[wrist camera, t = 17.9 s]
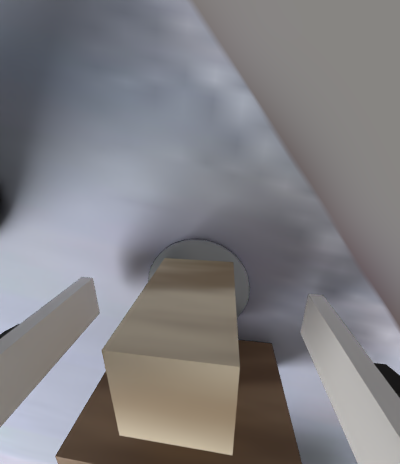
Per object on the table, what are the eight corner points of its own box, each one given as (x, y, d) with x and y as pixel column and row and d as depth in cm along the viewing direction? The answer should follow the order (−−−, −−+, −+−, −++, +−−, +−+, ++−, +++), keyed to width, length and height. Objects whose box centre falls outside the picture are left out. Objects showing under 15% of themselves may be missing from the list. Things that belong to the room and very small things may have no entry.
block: (164, 258, 13) (101, 350, 7) (233, 261, 13) (239, 367, 6) (168, 313, 15) (119, 435, 8) (230, 319, 14) (232, 455, 7)
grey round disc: (146, 236, 13) (143, 238, 13) (253, 241, 12) (253, 243, 12) (154, 320, 15) (152, 324, 15) (245, 330, 15) (245, 334, 14)
